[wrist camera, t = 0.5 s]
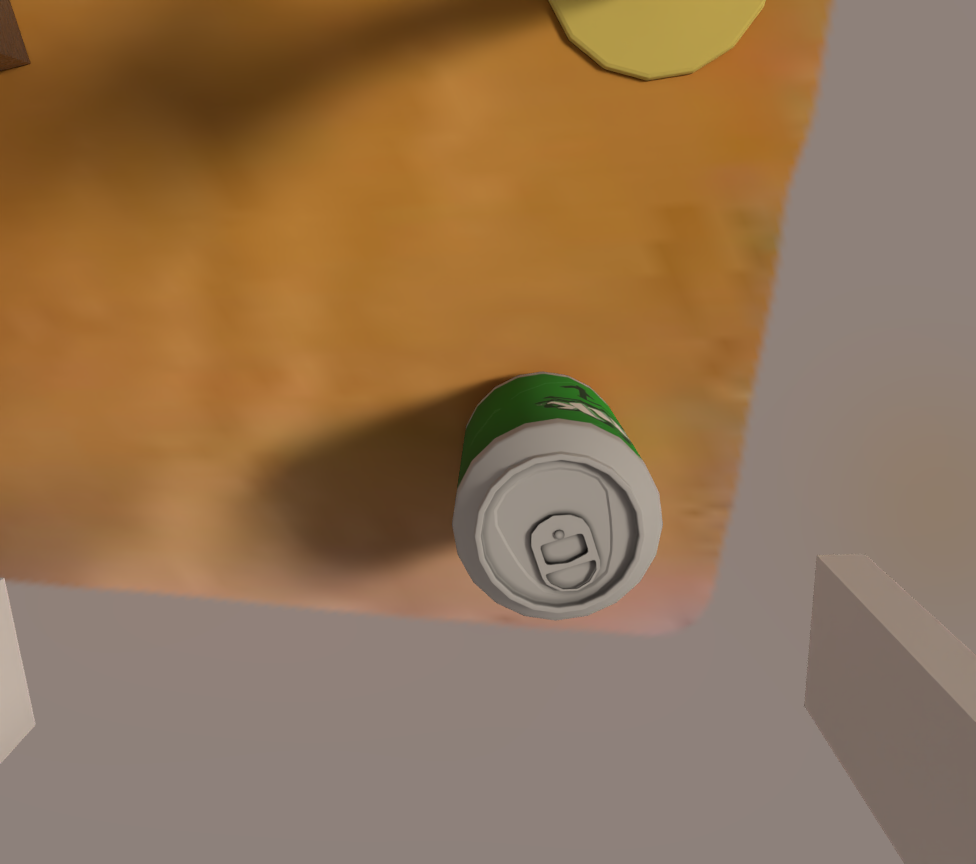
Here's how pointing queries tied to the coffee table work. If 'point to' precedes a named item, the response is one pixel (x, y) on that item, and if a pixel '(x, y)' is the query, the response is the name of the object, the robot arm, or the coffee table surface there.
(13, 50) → the grey hollow block
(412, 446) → the coffee table surface
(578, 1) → the candle
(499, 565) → the soda can
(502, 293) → the coffee table surface
